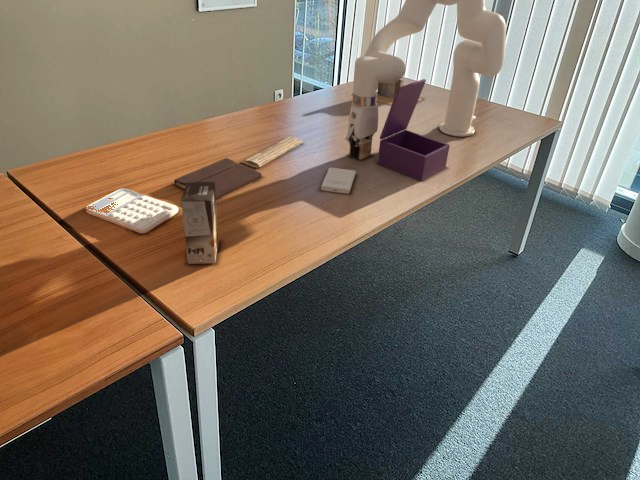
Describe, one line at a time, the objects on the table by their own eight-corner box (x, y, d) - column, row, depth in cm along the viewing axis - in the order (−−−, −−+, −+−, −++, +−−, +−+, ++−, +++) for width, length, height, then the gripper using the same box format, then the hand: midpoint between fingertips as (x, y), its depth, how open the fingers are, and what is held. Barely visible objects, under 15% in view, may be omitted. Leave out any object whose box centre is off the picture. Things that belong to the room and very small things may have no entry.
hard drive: (355, 175, 160) (349, 194, 149) (328, 172, 161) (320, 190, 151) (355, 170, 159) (349, 189, 148) (329, 167, 160) (321, 185, 150)
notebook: (261, 178, 155) (261, 171, 154) (211, 202, 142) (210, 195, 141) (225, 163, 163) (225, 157, 162) (174, 184, 149) (173, 178, 148)
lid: (426, 80, 160) (424, 78, 160) (400, 89, 151) (397, 87, 151) (406, 128, 171) (404, 127, 172) (381, 139, 163) (379, 138, 163)
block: (358, 150, 175) (359, 136, 172) (370, 155, 172) (372, 140, 169) (349, 154, 172) (350, 140, 169) (361, 159, 169) (362, 145, 166)
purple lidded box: (445, 167, 167) (449, 144, 163) (421, 181, 158) (425, 157, 154) (402, 151, 176) (405, 129, 172) (377, 163, 167) (380, 140, 163)
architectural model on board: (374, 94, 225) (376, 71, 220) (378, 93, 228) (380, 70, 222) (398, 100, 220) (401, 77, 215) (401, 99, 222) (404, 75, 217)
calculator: (143, 235, 127) (142, 228, 126) (84, 213, 135) (82, 206, 134) (180, 211, 137) (180, 205, 136) (123, 192, 145) (122, 186, 144)
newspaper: (259, 169, 160) (259, 163, 159) (241, 162, 163) (240, 157, 162) (302, 144, 177) (302, 139, 176) (285, 139, 180) (285, 134, 179)
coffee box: (216, 263, 119) (211, 201, 110) (187, 264, 118) (180, 201, 109) (219, 241, 126) (215, 181, 118) (192, 241, 126) (185, 181, 117)
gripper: (356, 109, 154) (352, 165, 164) (391, 96, 165) (384, 150, 175) (337, 102, 158) (333, 158, 168) (372, 90, 169) (367, 143, 179)
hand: (360, 153), depth 172 cm, fingers closed on block, 5 cm apart
